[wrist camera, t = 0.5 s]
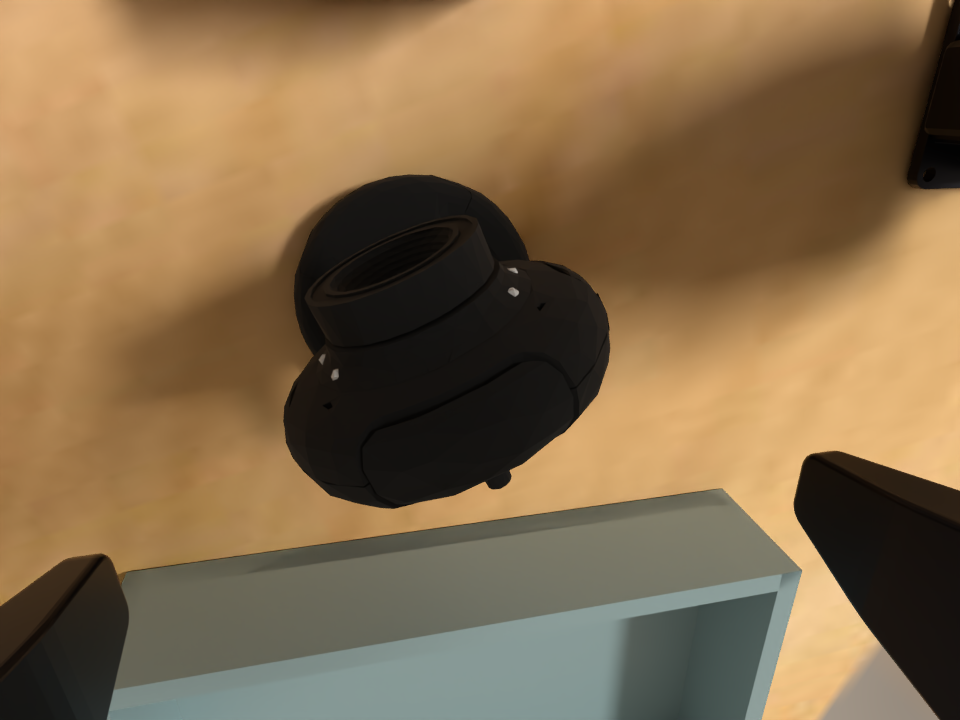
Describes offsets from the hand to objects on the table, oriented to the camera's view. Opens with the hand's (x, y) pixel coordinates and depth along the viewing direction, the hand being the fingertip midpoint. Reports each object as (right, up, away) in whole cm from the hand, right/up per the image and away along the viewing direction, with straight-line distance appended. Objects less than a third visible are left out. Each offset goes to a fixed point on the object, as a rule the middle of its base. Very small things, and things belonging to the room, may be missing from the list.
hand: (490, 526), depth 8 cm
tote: (-1, -11, +19) cm, 22 cm away
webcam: (-2, +5, +12) cm, 13 cm away
